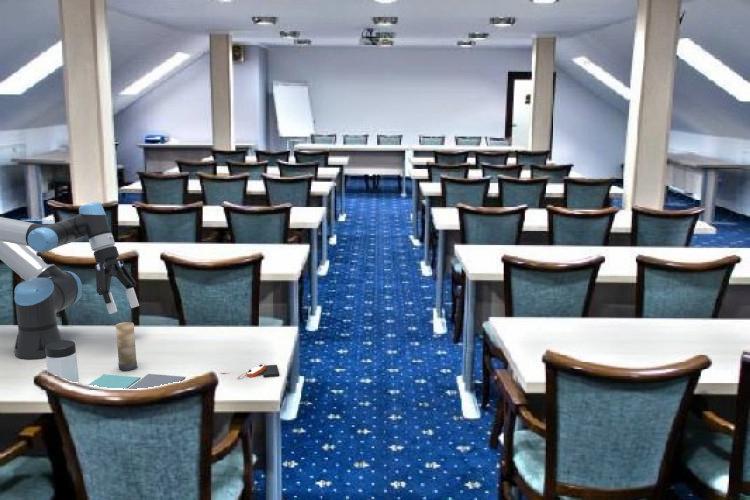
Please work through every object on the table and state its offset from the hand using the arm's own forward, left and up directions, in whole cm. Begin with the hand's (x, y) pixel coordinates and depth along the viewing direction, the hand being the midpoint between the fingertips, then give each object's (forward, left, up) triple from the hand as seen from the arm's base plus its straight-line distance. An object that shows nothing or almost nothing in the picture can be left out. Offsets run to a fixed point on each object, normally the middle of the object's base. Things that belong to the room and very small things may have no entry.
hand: (124, 309), depth 251 cm
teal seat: (+12, -31, -13) cm, 36 cm away
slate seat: (+25, -28, -13) cm, 40 cm away
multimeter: (+49, -17, -14) cm, 54 cm away
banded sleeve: (+10, -18, -13) cm, 24 cm away
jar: (-2, -33, -13) cm, 35 cm away
